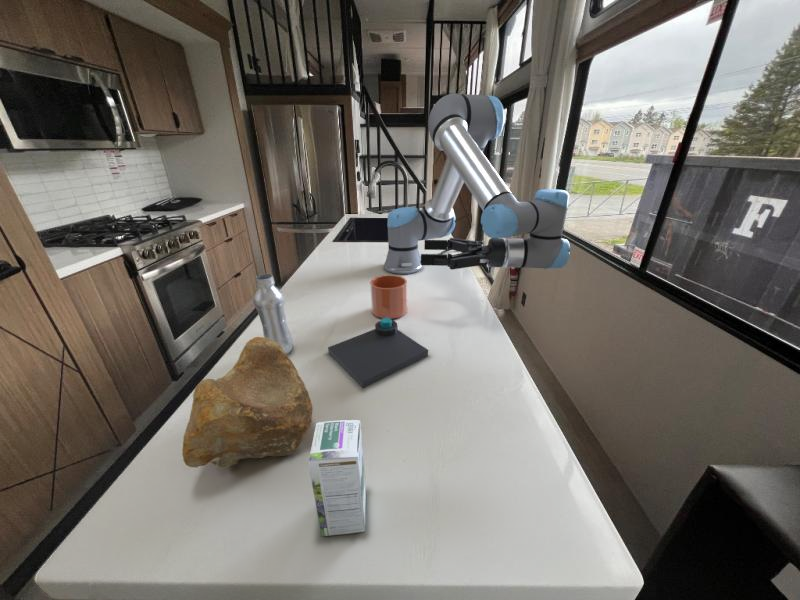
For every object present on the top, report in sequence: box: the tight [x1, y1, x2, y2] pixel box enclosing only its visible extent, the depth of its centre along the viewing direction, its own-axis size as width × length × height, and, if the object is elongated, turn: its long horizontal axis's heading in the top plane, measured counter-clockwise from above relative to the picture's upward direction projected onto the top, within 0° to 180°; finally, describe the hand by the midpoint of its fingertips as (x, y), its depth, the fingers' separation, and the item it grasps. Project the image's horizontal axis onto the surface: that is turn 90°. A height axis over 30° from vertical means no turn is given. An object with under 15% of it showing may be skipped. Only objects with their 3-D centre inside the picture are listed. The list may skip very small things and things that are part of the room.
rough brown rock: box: [181, 336, 313, 470], centre depth 54 cm, size 23×17×15 cm
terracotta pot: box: [369, 274, 408, 320], centre depth 95 cm, size 10×10×10 cm
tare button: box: [380, 318, 393, 329], centre depth 83 cm, size 3×3×2 cm
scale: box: [327, 319, 429, 390], centre depth 77 cm, size 18×16×4 cm
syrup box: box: [307, 419, 367, 537], centre depth 41 cm, size 6×6×14 cm
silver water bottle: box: [252, 273, 294, 355], centre depth 75 cm, size 6×7×20 cm
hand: (422, 251), depth 88 cm, fingers open, 13 cm apart
